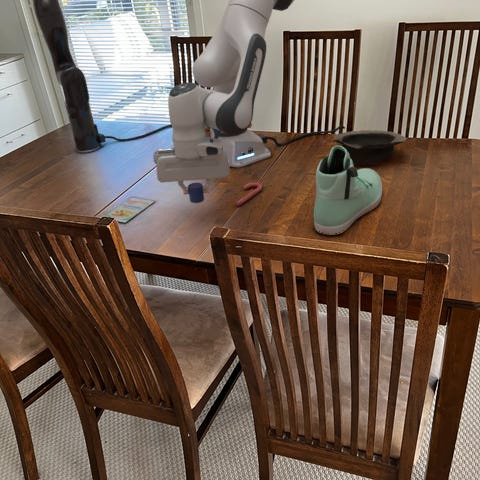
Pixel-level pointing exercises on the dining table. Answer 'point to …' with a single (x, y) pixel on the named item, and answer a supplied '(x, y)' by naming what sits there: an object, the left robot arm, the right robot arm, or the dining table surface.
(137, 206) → the baking ingredient package
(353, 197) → the sneaker
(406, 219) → the dining table surface
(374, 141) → the stone bowl
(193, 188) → the can
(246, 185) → the candy cane
